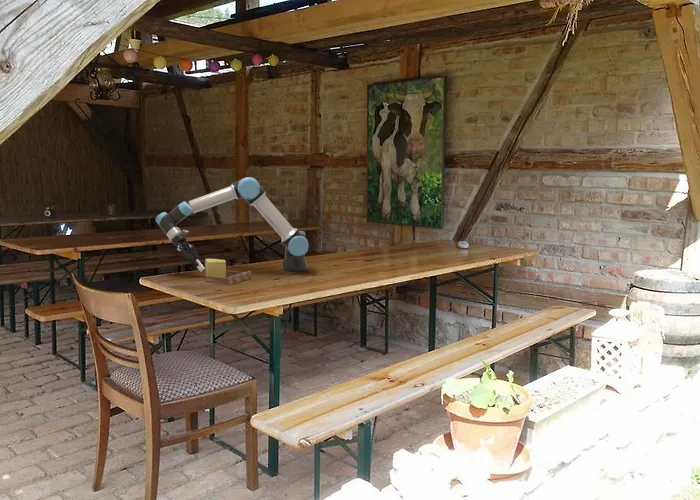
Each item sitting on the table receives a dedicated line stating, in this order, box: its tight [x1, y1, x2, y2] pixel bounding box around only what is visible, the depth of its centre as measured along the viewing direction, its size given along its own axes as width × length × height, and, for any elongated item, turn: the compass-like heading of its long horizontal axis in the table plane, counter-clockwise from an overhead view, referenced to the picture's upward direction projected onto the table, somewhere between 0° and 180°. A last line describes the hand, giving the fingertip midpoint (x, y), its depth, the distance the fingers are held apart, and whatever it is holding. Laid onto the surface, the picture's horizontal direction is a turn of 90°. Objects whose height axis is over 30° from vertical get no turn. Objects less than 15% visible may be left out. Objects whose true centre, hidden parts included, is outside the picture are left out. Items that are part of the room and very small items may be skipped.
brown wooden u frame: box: [205, 269, 252, 286], centre depth 324 cm, size 20×15×4 cm
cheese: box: [204, 258, 227, 278], centre depth 327 cm, size 10×11×10 cm
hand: (202, 270), depth 328 cm, fingers closed
